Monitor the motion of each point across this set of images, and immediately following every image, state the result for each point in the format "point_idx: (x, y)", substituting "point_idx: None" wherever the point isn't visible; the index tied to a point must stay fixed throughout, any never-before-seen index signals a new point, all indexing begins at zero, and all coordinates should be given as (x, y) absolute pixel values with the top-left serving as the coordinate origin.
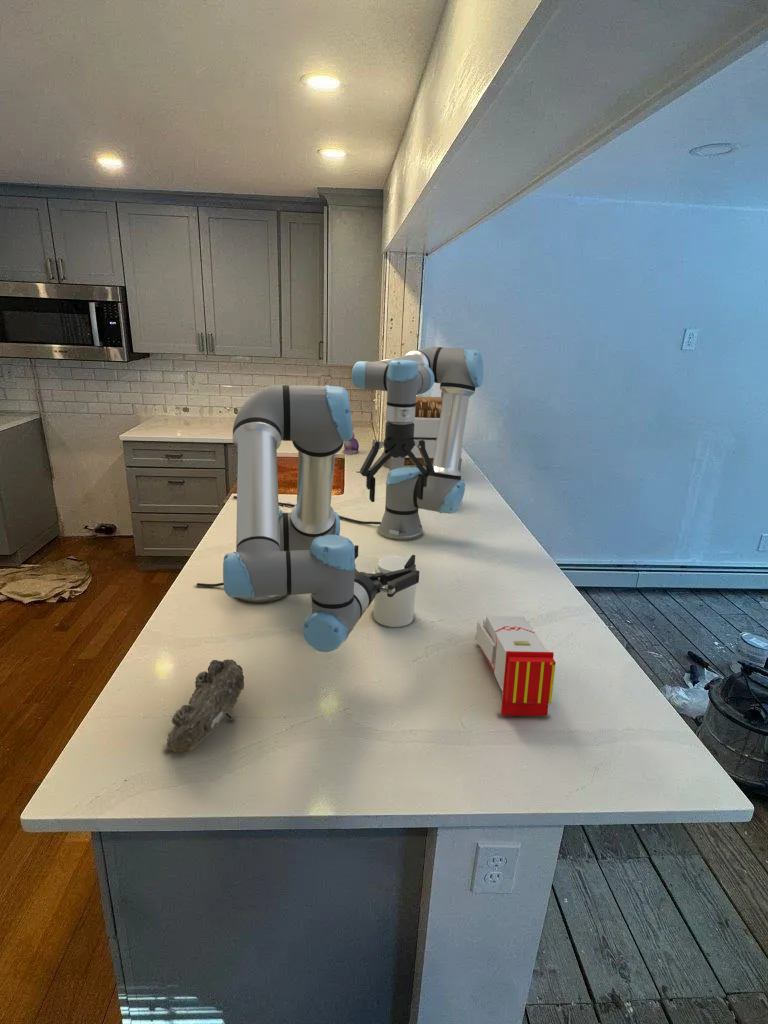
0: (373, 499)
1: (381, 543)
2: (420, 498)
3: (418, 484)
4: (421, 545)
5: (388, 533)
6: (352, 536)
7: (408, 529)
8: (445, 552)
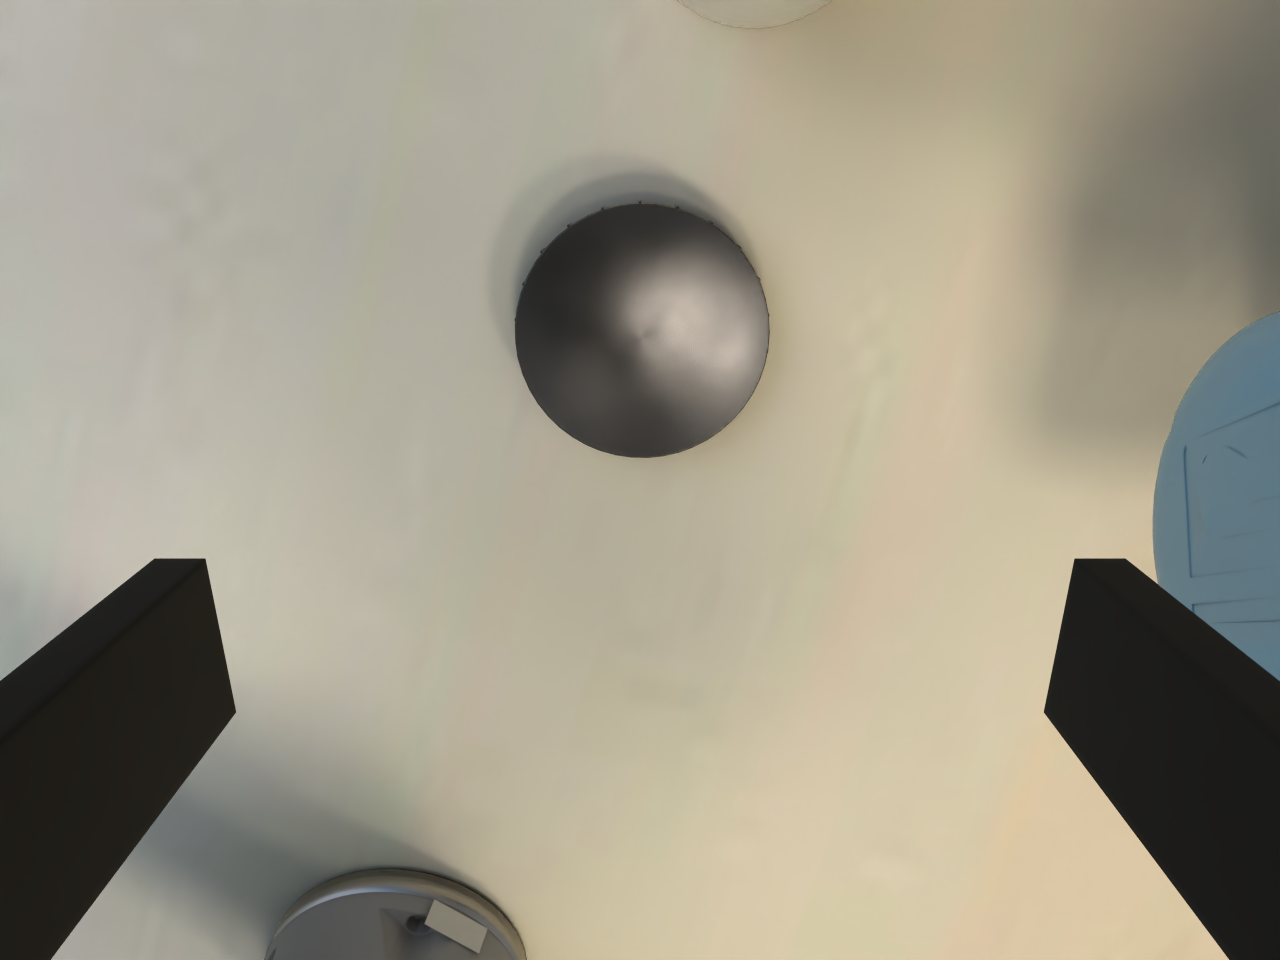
0: (1120, 581)
1: (550, 853)
2: (185, 568)
3: (77, 862)
4: (315, 797)
5: (488, 931)
6: (693, 952)
7: (360, 930)
8: None
